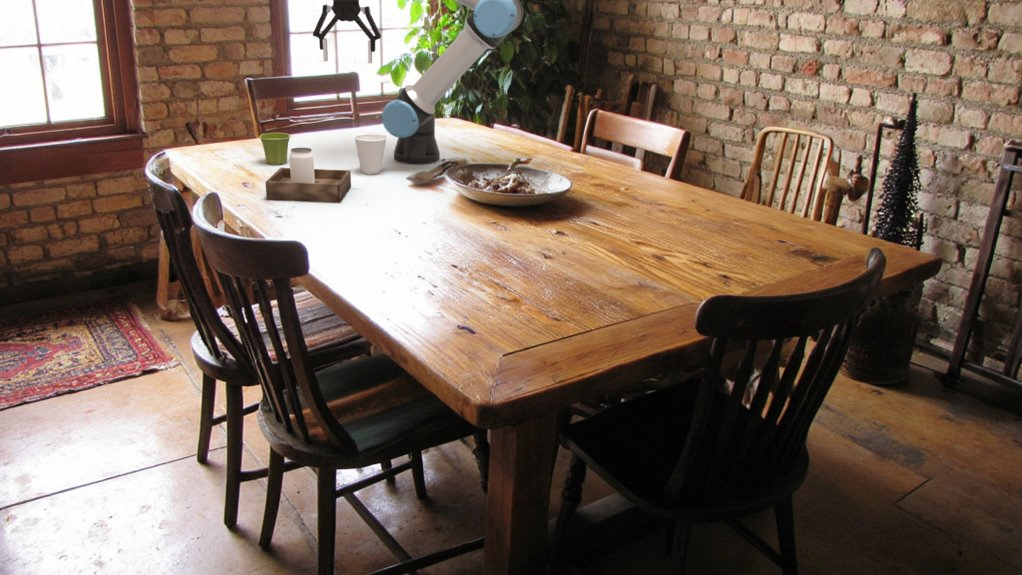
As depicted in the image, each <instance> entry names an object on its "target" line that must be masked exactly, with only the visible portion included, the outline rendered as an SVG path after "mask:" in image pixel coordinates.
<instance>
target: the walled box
mask: <svg viewBox="0 0 1022 575" xmlns="http://www.w3.org/2000/svg"><path fill="white" fill-rule="evenodd" d="M351 173H352V172H351V170H349V169H348V170H347V169H345V170H344V169H328V168H327V169H326V168H325V169H324V168H323V169H322V168H314V176H315V183H299V182H291V175H290V167H279V169H277V171H276V172H274V173H273V174H272V175H271V176H269V178H268V179H267V180H266V181H265V193H266V196H265V197H266V200H267V201H285V202H288V201H289V202H312V203H337V204H341V203H342V201H343V200H344V198H345V197H346V196H347V194H348V193H349V192H350V189H351V188H352V180H351V179H352V177H351V176H352V174H351Z"/></svg>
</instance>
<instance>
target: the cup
mask: <svg viewBox="0 0 1022 575" xmlns="http://www.w3.org/2000/svg"><path fill="white" fill-rule="evenodd" d="M387 139H388V137H387V136H386V135H383V134H377V133H361V134H357V135H354V137H353V140H354V142H355V148H356V150H357V151H356V152H357V156H358V162H359V169H360V172H361V173H362V174H363V175H369V176H371V175H373V176H374V175H378V174H380V173H382V171H383V170H382V169H383V161H384V154H385V150H386V142H387Z"/></svg>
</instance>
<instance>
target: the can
mask: <svg viewBox="0 0 1022 575" xmlns="http://www.w3.org/2000/svg"><path fill="white" fill-rule="evenodd" d="M314 161H315V160H314V153H313V152H312V149H311V148H310V147H309V148H308V147H295V148H291V149H290V153H289V168H290V175H291V182H299V183H315V176H314V169H315V162H314Z"/></svg>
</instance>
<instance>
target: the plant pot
mask: <svg viewBox="0 0 1022 575" xmlns="http://www.w3.org/2000/svg"><path fill="white" fill-rule="evenodd" d="M258 136H259V139H260V140H261V143H262V147H263V152H264V157H265V162H266V164H268V165H269V166H271V165H272V166H279V165H285V164H287V159H288V150H289V149H288V148H289V142H290V138H291V135H290V134H289V133H284V132H268V133H262V134H260V135H258Z"/></svg>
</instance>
